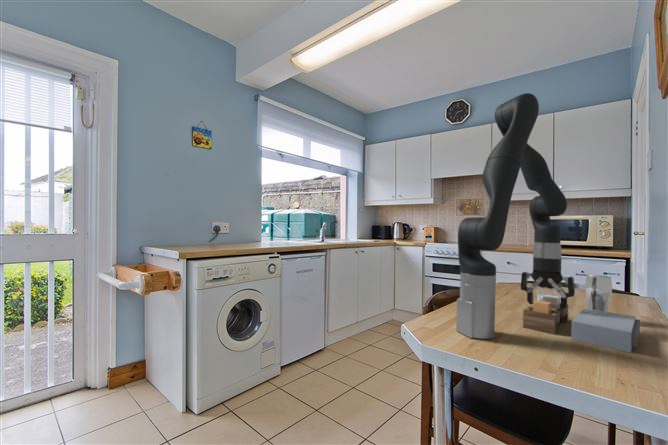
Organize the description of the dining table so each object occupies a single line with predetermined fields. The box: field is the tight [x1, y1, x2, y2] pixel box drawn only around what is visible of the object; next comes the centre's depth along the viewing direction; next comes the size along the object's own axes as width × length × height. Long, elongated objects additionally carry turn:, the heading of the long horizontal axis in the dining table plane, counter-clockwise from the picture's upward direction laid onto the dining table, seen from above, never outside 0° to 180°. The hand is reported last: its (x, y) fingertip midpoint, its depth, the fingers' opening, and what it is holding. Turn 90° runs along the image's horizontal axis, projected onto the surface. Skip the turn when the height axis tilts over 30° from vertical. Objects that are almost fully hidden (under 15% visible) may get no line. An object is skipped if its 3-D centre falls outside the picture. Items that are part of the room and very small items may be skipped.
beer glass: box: [584, 274, 613, 312], centre depth 106 cm, size 7×7×15 cm
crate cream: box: [542, 294, 561, 309], centre depth 104 cm, size 4×4×4 cm
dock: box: [570, 307, 641, 354], centre depth 89 cm, size 22×13×5 cm, turn 134°
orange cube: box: [532, 299, 551, 314], centre depth 95 cm, size 4×4×4 cm
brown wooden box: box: [522, 299, 569, 335], centre depth 99 cm, size 20×8×6 cm, turn 134°
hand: (546, 306), depth 100 cm, fingers open, 8 cm apart
